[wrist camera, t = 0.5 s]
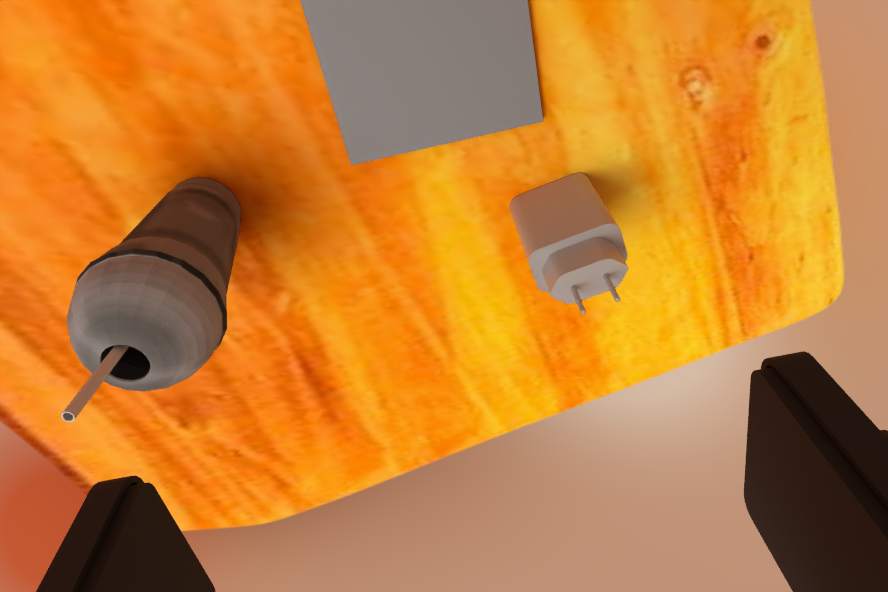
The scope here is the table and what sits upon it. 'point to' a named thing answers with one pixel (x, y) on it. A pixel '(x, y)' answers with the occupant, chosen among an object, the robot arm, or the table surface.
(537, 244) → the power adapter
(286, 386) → the table surface
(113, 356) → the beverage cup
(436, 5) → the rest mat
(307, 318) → the table surface
